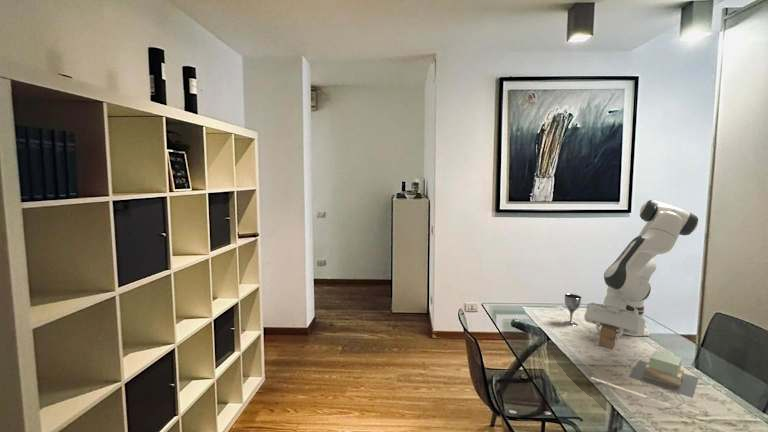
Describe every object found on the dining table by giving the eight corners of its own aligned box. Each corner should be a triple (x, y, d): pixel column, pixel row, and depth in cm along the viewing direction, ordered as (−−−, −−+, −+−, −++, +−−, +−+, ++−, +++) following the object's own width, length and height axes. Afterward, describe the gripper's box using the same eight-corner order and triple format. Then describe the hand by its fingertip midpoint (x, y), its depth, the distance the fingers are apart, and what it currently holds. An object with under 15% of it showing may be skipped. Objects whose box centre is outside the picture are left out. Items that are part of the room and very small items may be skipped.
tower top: (653, 359, 161) (654, 350, 161) (680, 367, 155) (681, 358, 154) (649, 367, 155) (650, 357, 154) (677, 375, 148) (678, 365, 148)
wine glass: (580, 327, 207) (583, 299, 205) (564, 325, 208) (566, 297, 206) (576, 321, 214) (579, 294, 213) (560, 319, 216) (563, 293, 214)
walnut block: (601, 341, 169) (603, 324, 168) (614, 345, 166) (616, 327, 165) (598, 345, 165) (600, 327, 164) (612, 349, 162) (614, 331, 161)
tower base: (649, 367, 163) (651, 358, 162) (683, 377, 155) (684, 367, 155) (644, 376, 155) (645, 367, 154) (679, 387, 147) (680, 377, 147)
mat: (639, 361, 169) (639, 360, 169) (698, 379, 156) (698, 377, 156) (628, 378, 155) (628, 376, 155) (692, 399, 141) (692, 397, 141)
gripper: (587, 297, 175) (579, 325, 169) (642, 310, 163) (635, 340, 156) (588, 305, 179) (581, 332, 173) (642, 317, 167) (635, 347, 160)
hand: (607, 336), depth 165 cm, fingers closed on walnut block, 5 cm apart
